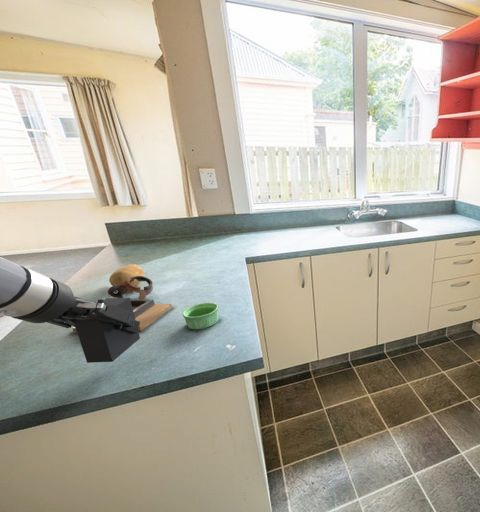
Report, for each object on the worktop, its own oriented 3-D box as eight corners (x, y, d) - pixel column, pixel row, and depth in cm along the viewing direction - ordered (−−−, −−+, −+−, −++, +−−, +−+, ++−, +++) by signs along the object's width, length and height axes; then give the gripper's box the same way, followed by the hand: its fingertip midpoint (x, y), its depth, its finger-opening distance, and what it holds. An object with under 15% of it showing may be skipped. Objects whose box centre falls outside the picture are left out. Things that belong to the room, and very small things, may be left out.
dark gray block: (87, 362, 63) (71, 317, 60) (118, 338, 72) (106, 297, 68) (112, 361, 64) (98, 317, 61) (140, 338, 72) (129, 297, 69)
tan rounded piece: (151, 278, 120) (146, 259, 118) (141, 291, 108) (135, 271, 105) (121, 281, 116) (115, 262, 114) (107, 296, 104) (100, 275, 101)
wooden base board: (73, 332, 82) (69, 321, 81) (114, 308, 95) (111, 299, 94) (141, 331, 83) (138, 320, 82) (172, 307, 96) (169, 298, 95)
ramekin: (206, 313, 93) (203, 300, 92) (227, 318, 90) (225, 305, 89) (178, 327, 85) (175, 313, 84) (200, 333, 82) (197, 319, 81)
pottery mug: (140, 290, 110) (147, 272, 108) (153, 306, 107) (161, 288, 105) (98, 295, 99) (106, 275, 97) (112, 313, 96) (120, 292, 94)
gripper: (-47, 321, 47) (75, 347, 68) (81, 315, 49) (160, 342, 70) (-22, 277, 50) (87, 314, 71) (96, 274, 53) (168, 311, 73)
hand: (123, 328), depth 70 cm, fingers closed on dark gray block, 5 cm apart
